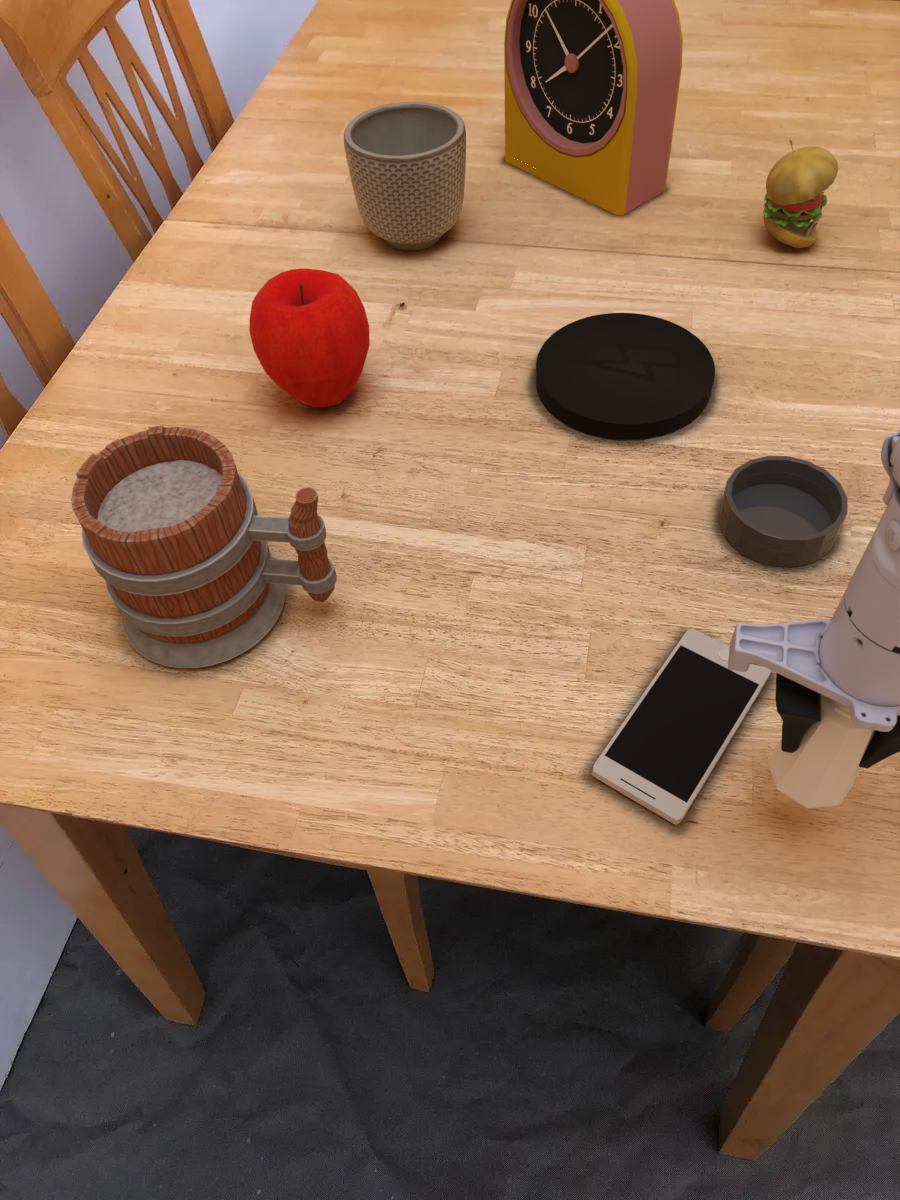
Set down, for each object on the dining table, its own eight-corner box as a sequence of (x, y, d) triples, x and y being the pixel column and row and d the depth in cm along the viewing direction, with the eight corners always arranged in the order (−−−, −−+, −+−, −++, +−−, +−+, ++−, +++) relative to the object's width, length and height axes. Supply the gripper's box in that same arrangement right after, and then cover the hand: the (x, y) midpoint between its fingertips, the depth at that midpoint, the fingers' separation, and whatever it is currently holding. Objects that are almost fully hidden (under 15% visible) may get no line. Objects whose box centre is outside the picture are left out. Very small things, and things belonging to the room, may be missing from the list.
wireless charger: (508, 355, 98) (508, 339, 97) (657, 312, 102) (659, 296, 100) (582, 460, 88) (583, 445, 86) (746, 409, 91) (750, 393, 89)
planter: (487, 217, 116) (485, 110, 105) (440, 276, 108) (433, 167, 98) (389, 198, 120) (378, 93, 110) (337, 254, 112) (319, 147, 102)
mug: (154, 538, 84) (96, 411, 73) (360, 552, 82) (335, 422, 70) (99, 665, 76) (24, 544, 64) (327, 684, 74) (292, 561, 62)
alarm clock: (502, 160, 124) (500, -73, 104) (550, 136, 128) (557, -94, 107) (619, 216, 114) (643, -29, 93) (668, 188, 117) (701, -54, 97)
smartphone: (771, 673, 72) (774, 666, 71) (678, 827, 64) (679, 821, 64) (687, 632, 75) (689, 625, 74) (589, 775, 67) (590, 768, 67)
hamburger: (824, 258, 106) (855, 154, 97) (761, 261, 106) (785, 158, 97) (808, 222, 111) (835, 120, 102) (747, 225, 111) (769, 124, 102)
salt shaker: (762, 798, 58) (811, 706, 50) (769, 727, 62) (817, 628, 53) (851, 821, 57) (917, 730, 49) (854, 747, 60) (917, 649, 52)
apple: (244, 393, 97) (211, 280, 86) (335, 345, 101) (314, 231, 90) (308, 450, 91) (281, 335, 80) (401, 396, 95) (388, 281, 85)
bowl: (836, 492, 84) (847, 463, 81) (835, 576, 78) (847, 548, 75) (723, 476, 85) (730, 448, 83) (714, 557, 80) (721, 530, 77)
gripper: (750, 646, 45) (698, 777, 56) (1073, 706, 42) (954, 831, 53) (757, 541, 49) (708, 682, 60) (1052, 589, 47) (946, 727, 57)
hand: (824, 745), depth 57 cm, fingers closed on salt shaker, 4 cm apart
